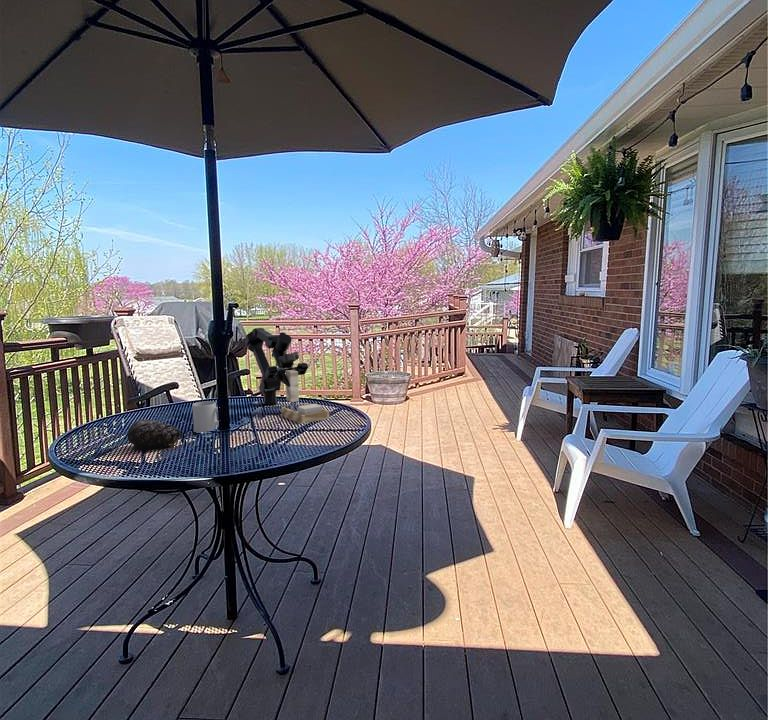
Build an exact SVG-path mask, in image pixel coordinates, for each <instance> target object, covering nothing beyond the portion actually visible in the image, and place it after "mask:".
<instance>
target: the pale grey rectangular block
mask: <svg viewBox="0 0 768 720" xmlns="http://www.w3.org/2000/svg"><path fill="white" fill-rule="evenodd" d="M285 375H286V377H287V379H288V381H289V384H290V387H288V386H286V385H285V392H286V393H285V394H286V397H285V398H286V401H288V402H291V403H295V402H300V397H299V395H300V394H299V392H300V391H299V390H300V389H299V375H298V371H295V370H288V371H285Z"/></svg>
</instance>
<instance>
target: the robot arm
mask: <svg viewBox="0 0 768 720" xmlns="http://www.w3.org/2000/svg"><path fill="white" fill-rule="evenodd" d="M292 340H293V339H292V337H291V336H290V335H289V334H287V333H286V332H284V331H283V332H281V331H280V332H279V334H272V333H270V332H269V331H267V330H265V328H264V327H255V328H253V329H252V331H250V332H248V333H247V334H246V335H245V338H244V344H245V346H246V348H247V349H248V351H250V352H252V353H253V356H254V359H255V361H256V363H257V366H258V368H259V370H260V373H261V379H260V384H259V386H258V390H259V393H262V394H263V401H264V402H263V403H265V404H276V405H278V403H279V400H277V391H278V392H279V391H281V383H283V384H284V385H285V387H286V386H288V387H290V384H289V381H288V379H287V377H286V373H285V371H288V370H295V371H298V376H304V375H306V373H307V372H308V369H309V365H308V363H307V362H299V363H297V366H294V365H295V362H296V361H297V360H299V358H300V357H299V353H298V351H293V352H292V353H291V352H290V353H287V351H288V350H289V348H290V345H291V343H292ZM263 345H264V346H265V347H266V348H267V349H269V350H270V349H272V351H271V358H272V357H273V358H274V361H275V365H273V366H270V364H269V361H268V359H267V356H266V355H265V354H266V353H265V351H264V349H263ZM277 402H278V403H277Z"/></svg>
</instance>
